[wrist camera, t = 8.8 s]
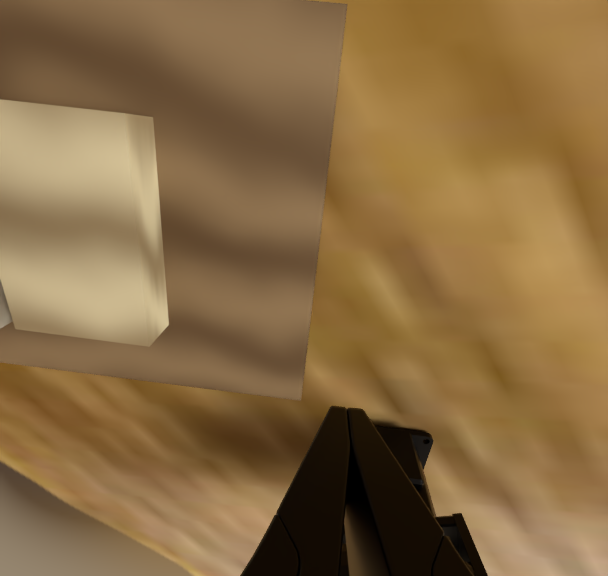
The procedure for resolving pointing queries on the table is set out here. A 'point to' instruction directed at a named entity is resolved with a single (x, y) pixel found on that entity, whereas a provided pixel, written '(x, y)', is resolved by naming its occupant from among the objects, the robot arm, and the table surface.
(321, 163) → the bench board
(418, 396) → the table surface
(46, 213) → the maple plate
